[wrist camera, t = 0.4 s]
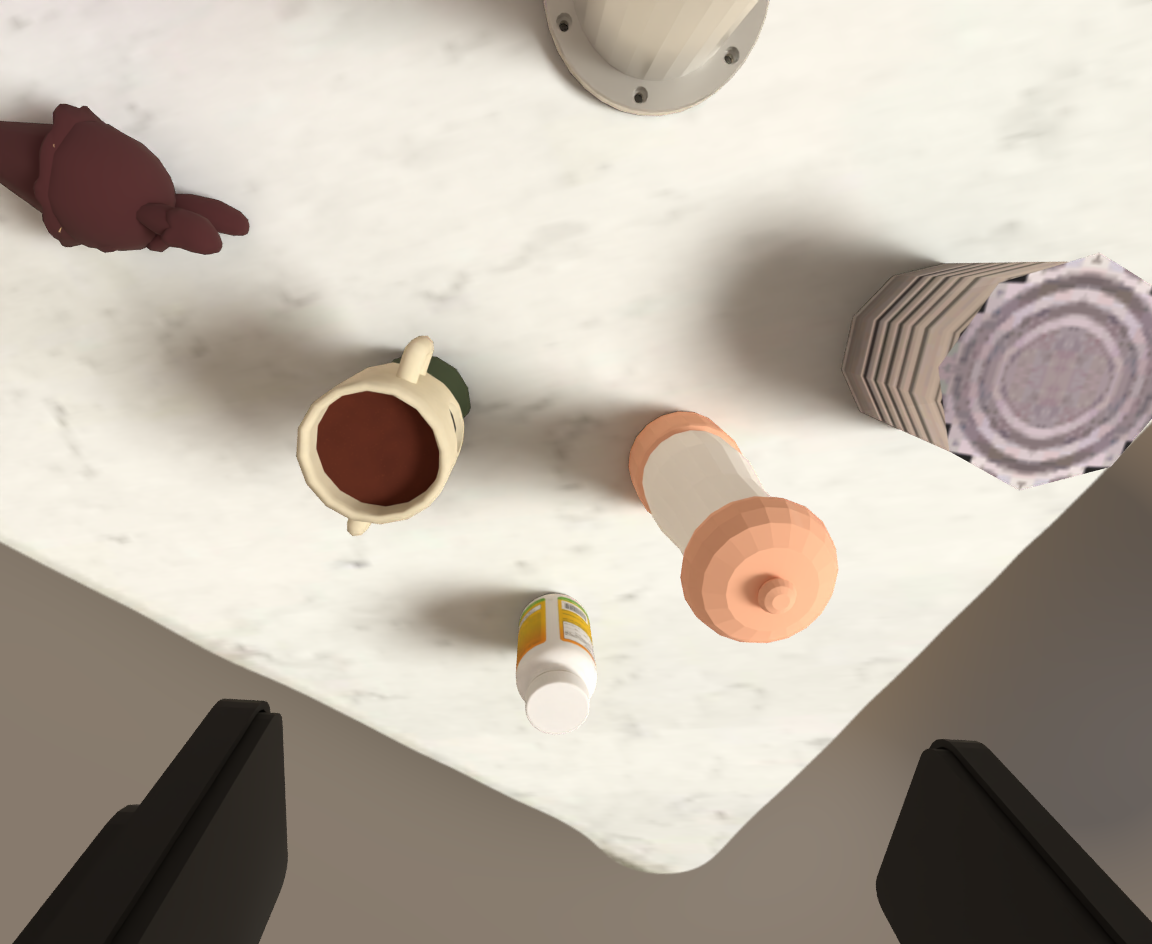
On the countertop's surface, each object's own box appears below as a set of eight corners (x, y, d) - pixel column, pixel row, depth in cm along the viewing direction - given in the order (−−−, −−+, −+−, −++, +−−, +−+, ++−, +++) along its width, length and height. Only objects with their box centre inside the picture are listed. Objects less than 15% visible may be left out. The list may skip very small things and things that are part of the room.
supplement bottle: (522, 655, 47) (517, 748, 38) (515, 594, 46) (509, 676, 36) (590, 649, 48) (603, 741, 38) (587, 588, 46) (599, 669, 37)
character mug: (448, 489, 43) (411, 578, 30) (348, 453, 41) (267, 530, 29) (503, 343, 40) (486, 376, 27) (397, 300, 38) (329, 314, 26)
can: (942, 454, 44) (1083, 518, 33) (809, 394, 42) (909, 441, 31) (1037, 304, 41) (1228, 317, 30) (897, 232, 39) (1045, 216, 28)
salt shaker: (730, 503, 44) (862, 667, 26) (630, 513, 44) (694, 685, 26) (730, 406, 42) (875, 511, 24) (625, 416, 42) (691, 529, 24)
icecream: (-127, 207, 30) (202, 318, 33) (-161, 36, 26) (214, 181, 30) (-18, 184, 35) (252, 280, 39) (-33, 41, 32) (267, 162, 35)
